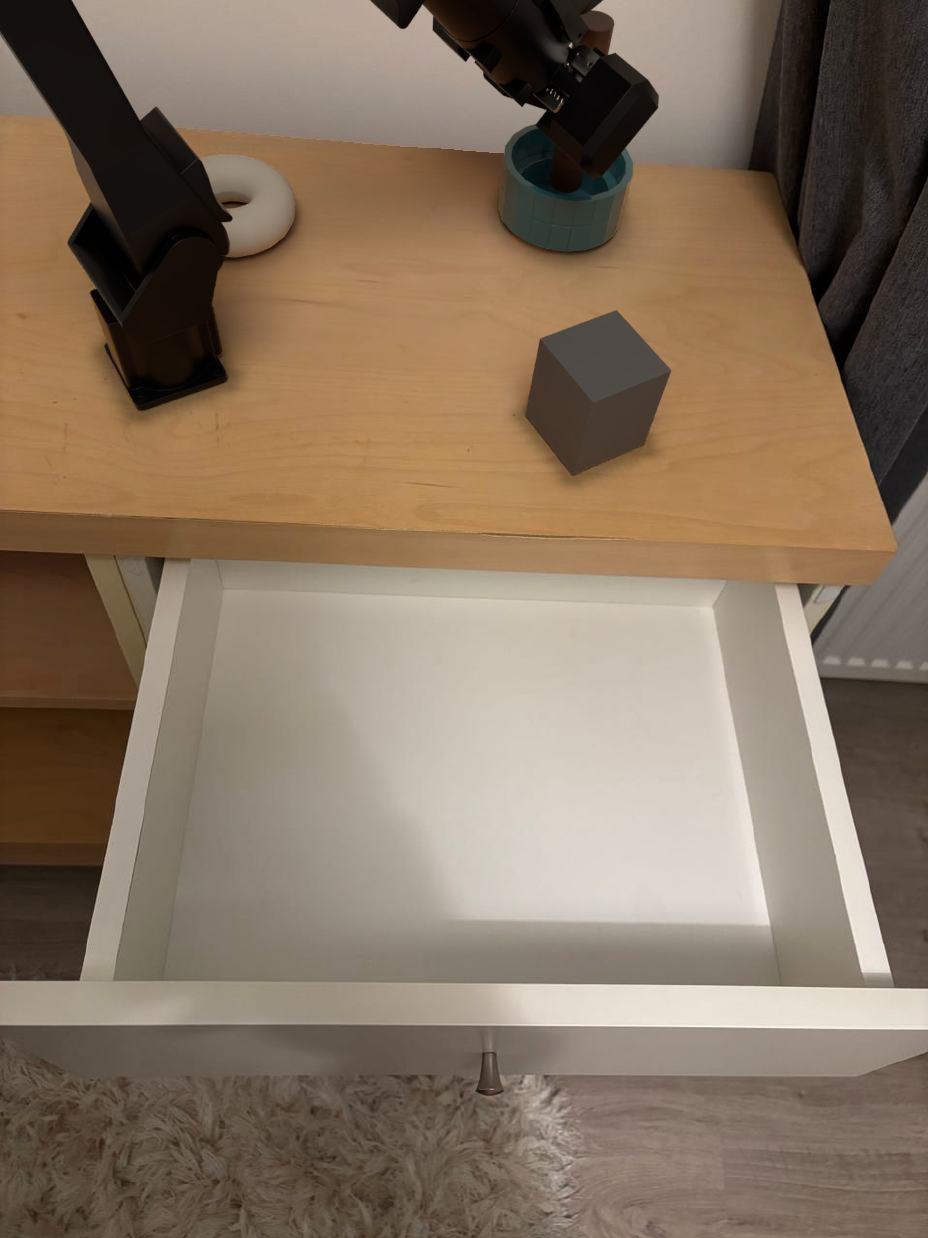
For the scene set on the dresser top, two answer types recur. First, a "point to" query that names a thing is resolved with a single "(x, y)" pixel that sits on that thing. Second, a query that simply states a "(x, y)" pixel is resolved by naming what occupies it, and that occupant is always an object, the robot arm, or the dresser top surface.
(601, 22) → the stick
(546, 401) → the cube
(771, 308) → the dresser top surface
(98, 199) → the robot arm
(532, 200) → the bowl
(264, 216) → the donut
